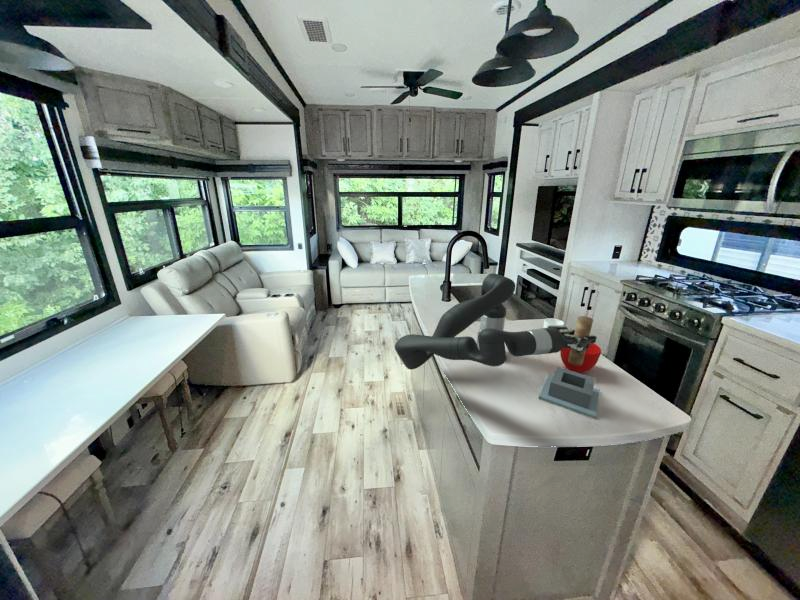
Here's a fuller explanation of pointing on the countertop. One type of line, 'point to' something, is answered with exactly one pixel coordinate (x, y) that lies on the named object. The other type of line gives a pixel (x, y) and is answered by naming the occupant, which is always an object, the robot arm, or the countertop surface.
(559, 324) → the white cup
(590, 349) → the ceramic cup
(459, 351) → the robot arm
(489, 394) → the countertop surface
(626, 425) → the countertop surface
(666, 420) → the countertop surface
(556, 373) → the socket block
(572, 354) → the wooden cylinder
